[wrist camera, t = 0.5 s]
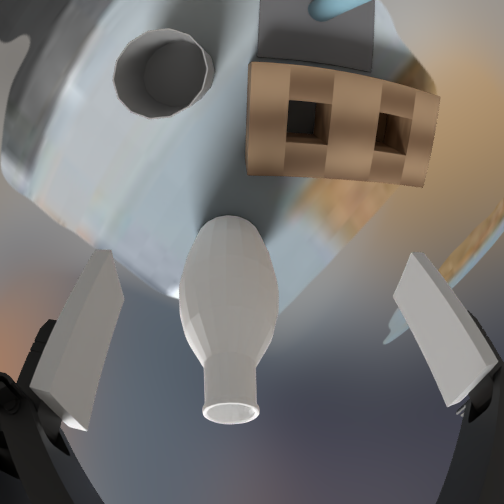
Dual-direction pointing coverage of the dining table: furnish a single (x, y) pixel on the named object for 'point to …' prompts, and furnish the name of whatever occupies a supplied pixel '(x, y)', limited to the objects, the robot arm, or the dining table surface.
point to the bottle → (229, 313)
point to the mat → (316, 34)
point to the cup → (162, 73)
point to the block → (338, 126)
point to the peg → (331, 8)
